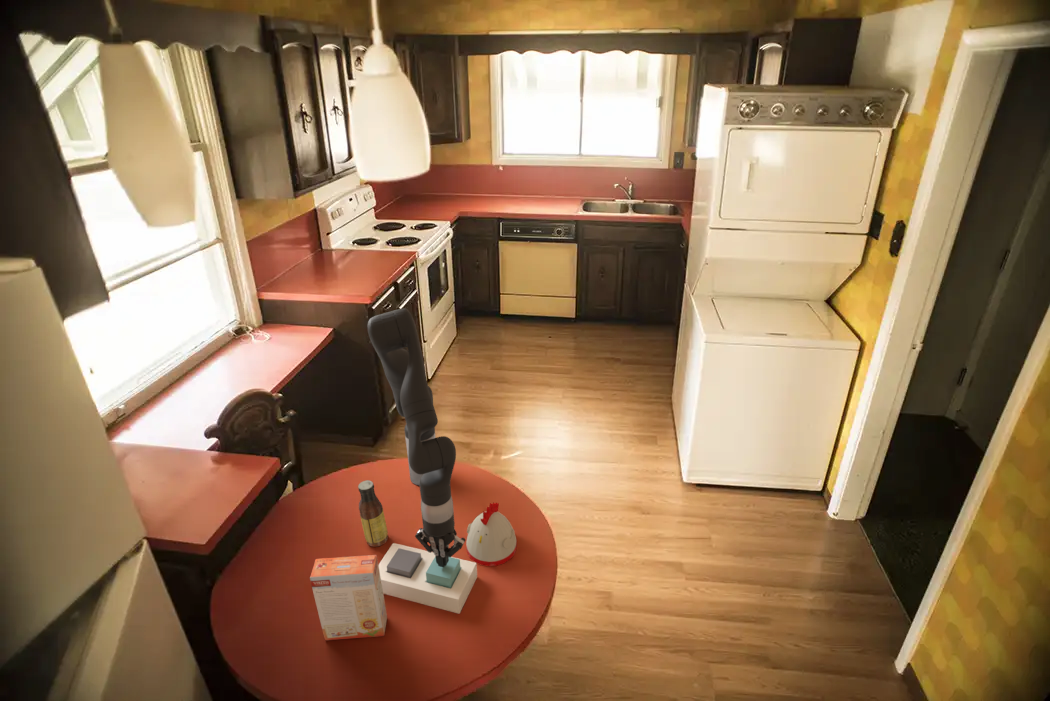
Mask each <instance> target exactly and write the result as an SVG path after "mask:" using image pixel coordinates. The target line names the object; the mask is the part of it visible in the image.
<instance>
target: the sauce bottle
mask: <svg viewBox="0 0 1050 701" xmlns="http://www.w3.org/2000/svg"><path fill="white" fill-rule="evenodd" d="M357 488H358V492H359V493H360V500H359V502H358V510H359V517H360V521H361V525H362V530H363V534H364V538H365V541H366V543H367V545H368V546H370V547H374V548H376V547H380V546H383V545H384V544H385V543H387V541H388V537H389V535H388V533H389V532H388V527H387V523H386V518H385V513H384V508H383V505H382V502H381V501H380V500H379V498H378V497H377V495H376V492H375V485H374V482H373V481H371V480H369V479H368V480H363V481H361V482H359V484H358V486H357Z"/></svg>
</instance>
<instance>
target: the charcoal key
mask: <svg viewBox="0 0 1050 701" xmlns="http://www.w3.org/2000/svg"><path fill="white" fill-rule="evenodd" d="M421 560H422V559H421V553H417V552H412V551H408V550H404V549H400V548H398V550H397V551H396V553H395V555H394V556H393V558H392V559H391V561H390V562H389V564H388V565H387V572H388V573H392V574H396V575H399V576H403V577H407V578H411V577H412V575H413V574H414V572H415V570H416V569H417V567H418V565H419V564H420V562H421Z"/></svg>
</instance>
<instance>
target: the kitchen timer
mask: <svg viewBox="0 0 1050 701" xmlns="http://www.w3.org/2000/svg"><path fill="white" fill-rule="evenodd" d="M499 506H500V505H499V502H492V503H491V502H489V506H486V511H482V513H480V514H478V515H477V516H476V517H475V518H474V519H473V521H472V522H471V523H469V524H468V526H467V529H466V533H467V537H466V540H465V542H466V543H465V545H466V547H465V548H466V553H467V555H468V557H469V558H470V559H471V561H472V562H474V561H475V563H476V564H478V565H480V564H481V565H480V566H486V567H497V566H500V565H503V564H505V563H506V562H508V561H510V559H512V558H513V557H514V556H515V554H516V551H517V542H518V541H517V537H516V532H515V529H514V528H513V526H512V524H511V522H510V520H508V518H507V517H506V516H505V515H504V514H502V513H501V512H500V511H499Z"/></svg>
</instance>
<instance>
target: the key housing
mask: <svg viewBox="0 0 1050 701" xmlns="http://www.w3.org/2000/svg"><path fill="white" fill-rule="evenodd" d="M398 548H400V549H404V550H408V551H412V552H417V553H421V559H422V560H421V562H420V564H419V565H418V567H417V569H416V570H415V572H414V574H413V575H412V577H411V578H407V577H403V576H399V575H396V574H392V573H388V572H387V565H388V564H389V562H390V561H391V559H392V558H393V556H394V555H395V553H396V551H397V550H398ZM434 558H435V555H434V553H433V552H431V553H430V552H428V551H427V550H426V549H421V548H416V547H412V546H408V545H405V544H399V543H395V542H393V543H392V544H391V545H390V547H389V549H388V550H387V552H386V553H385V554H384V556H383V558H382V559H381V560H380V562H378V566H379V571H380V577H381V583H382V589H383V594H384V595H387V596H392V597H393V598H394V597H395V598H399V599H402V600H406V601H410V602H414V603H418V604H421V605H425V606H429V607H432V608H436V609H440V610H444V611H448V612H451V613H455V614H461V612H462V609H463V607H464V606H465V603H466V602H467V599H468V598H469V595H470V593H471V591H472V589H473V587H474V585H475V582H476V580H477V578H478V568H477V567H478V566H477V564H478V563H476V562H474V561H472V560H471V561H470V560H465V559H461V558H458V557H454V556H451V558H455V559H460V569H461V570H460V572H459V574H458V576H457V578H456V580H455V582H454V584H453V586H452V588H451V589H450V588H446V587H443V586H439V585H435V584H431V583H427V579H426V572H427V570H428V568H429V566H430V565H431V563H432V561H433V560H434Z"/></svg>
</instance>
